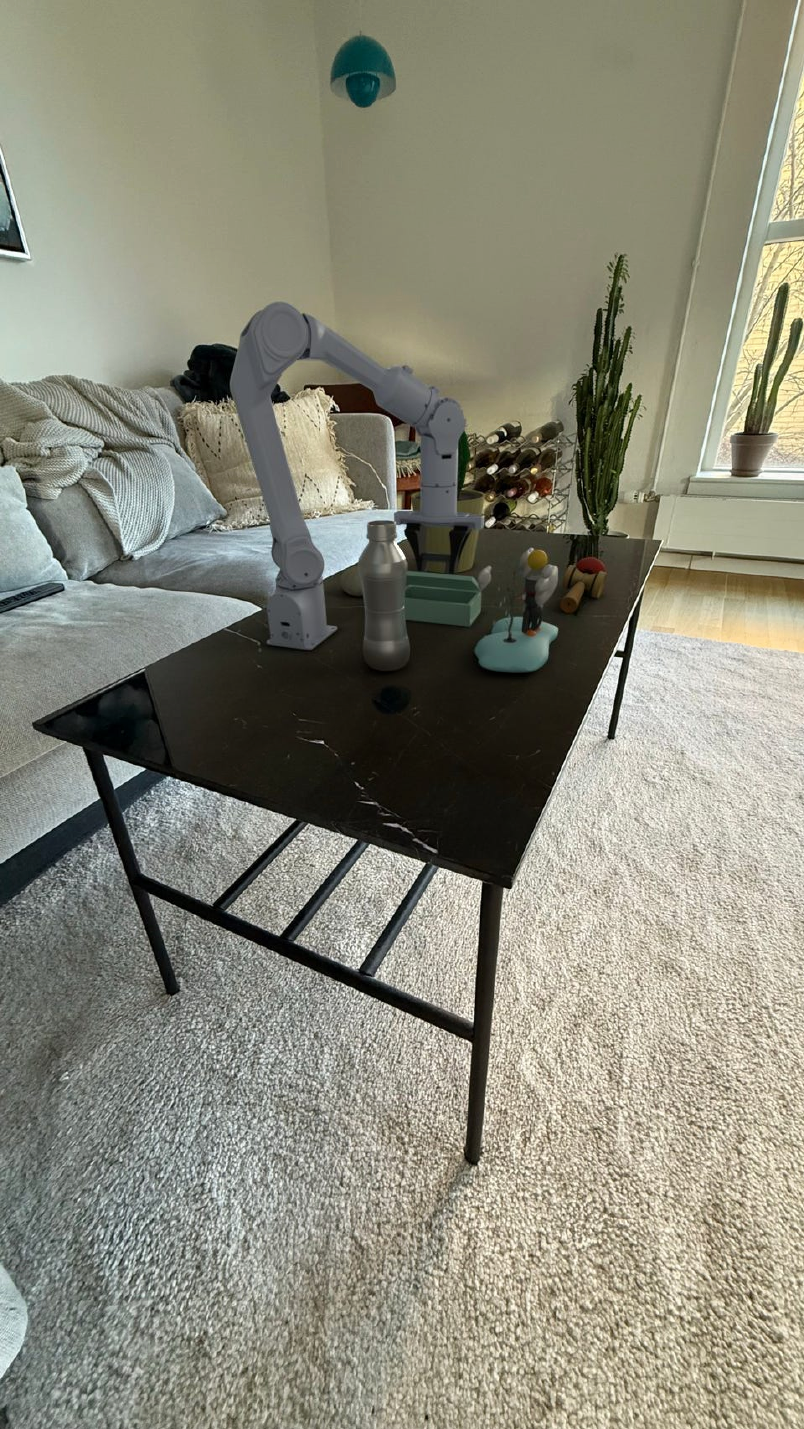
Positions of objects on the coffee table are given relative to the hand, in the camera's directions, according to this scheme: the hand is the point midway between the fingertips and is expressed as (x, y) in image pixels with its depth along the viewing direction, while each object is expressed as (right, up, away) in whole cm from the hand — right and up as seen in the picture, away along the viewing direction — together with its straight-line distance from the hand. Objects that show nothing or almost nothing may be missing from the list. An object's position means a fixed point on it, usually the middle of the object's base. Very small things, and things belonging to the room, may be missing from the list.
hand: (437, 571), depth 99 cm
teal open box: (0, -7, +4) cm, 8 cm away
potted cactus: (+4, +9, +31) cm, 33 cm away
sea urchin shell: (-13, 0, +17) cm, 21 cm away
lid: (0, -2, +1) cm, 2 cm away
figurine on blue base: (+11, -15, -10) cm, 21 cm away
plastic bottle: (-8, -17, -14) cm, 24 cm away
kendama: (+27, -3, +11) cm, 29 cm away
